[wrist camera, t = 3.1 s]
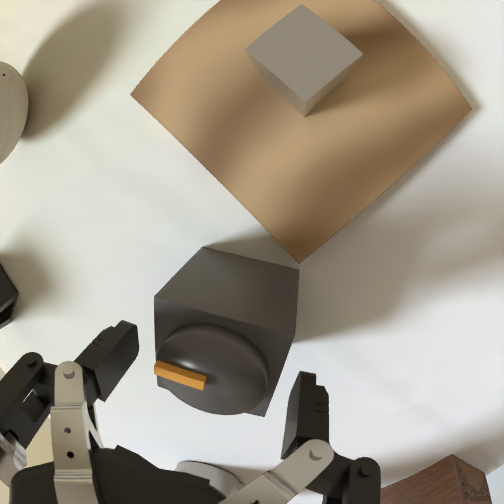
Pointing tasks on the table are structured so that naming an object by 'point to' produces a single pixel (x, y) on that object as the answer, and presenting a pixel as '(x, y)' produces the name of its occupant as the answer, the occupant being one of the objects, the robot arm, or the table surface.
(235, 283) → the knob
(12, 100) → the eye model
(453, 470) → the tissue box cover
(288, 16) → the matte grey cube
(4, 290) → the phone stand
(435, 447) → the table surface
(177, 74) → the base plate
